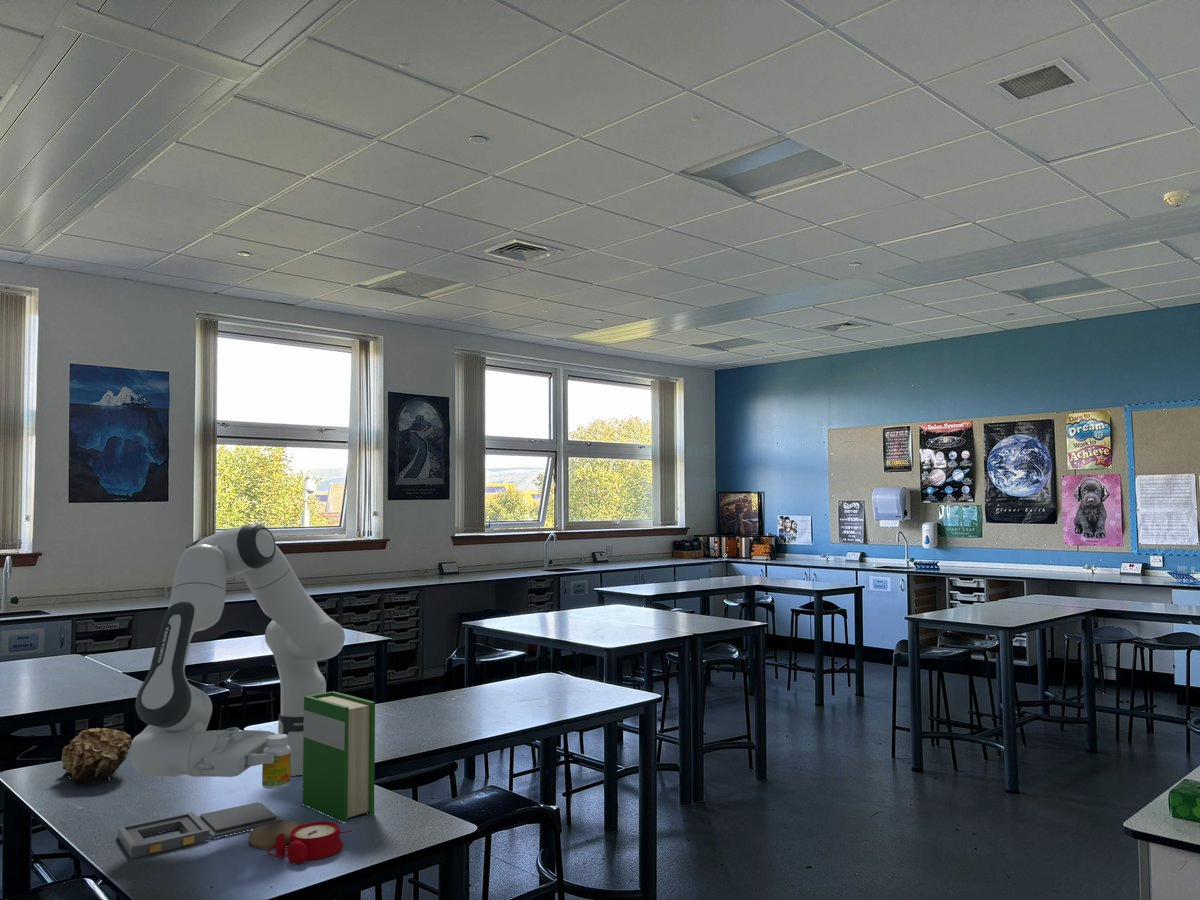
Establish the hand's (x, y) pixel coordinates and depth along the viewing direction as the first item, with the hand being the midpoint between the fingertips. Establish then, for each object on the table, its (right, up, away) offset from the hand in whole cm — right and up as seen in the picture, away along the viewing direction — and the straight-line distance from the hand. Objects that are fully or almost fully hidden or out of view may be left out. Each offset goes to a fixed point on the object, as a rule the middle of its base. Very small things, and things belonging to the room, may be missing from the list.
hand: (281, 753), depth 175 cm
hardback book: (+7, -18, +16) cm, 25 cm away
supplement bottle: (-1, -7, 0) cm, 7 cm away
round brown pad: (0, -17, -1) cm, 17 cm away
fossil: (-61, -21, +40) cm, 76 cm away
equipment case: (-18, -17, +3) cm, 25 cm away
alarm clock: (+8, -17, -9) cm, 21 cm away
